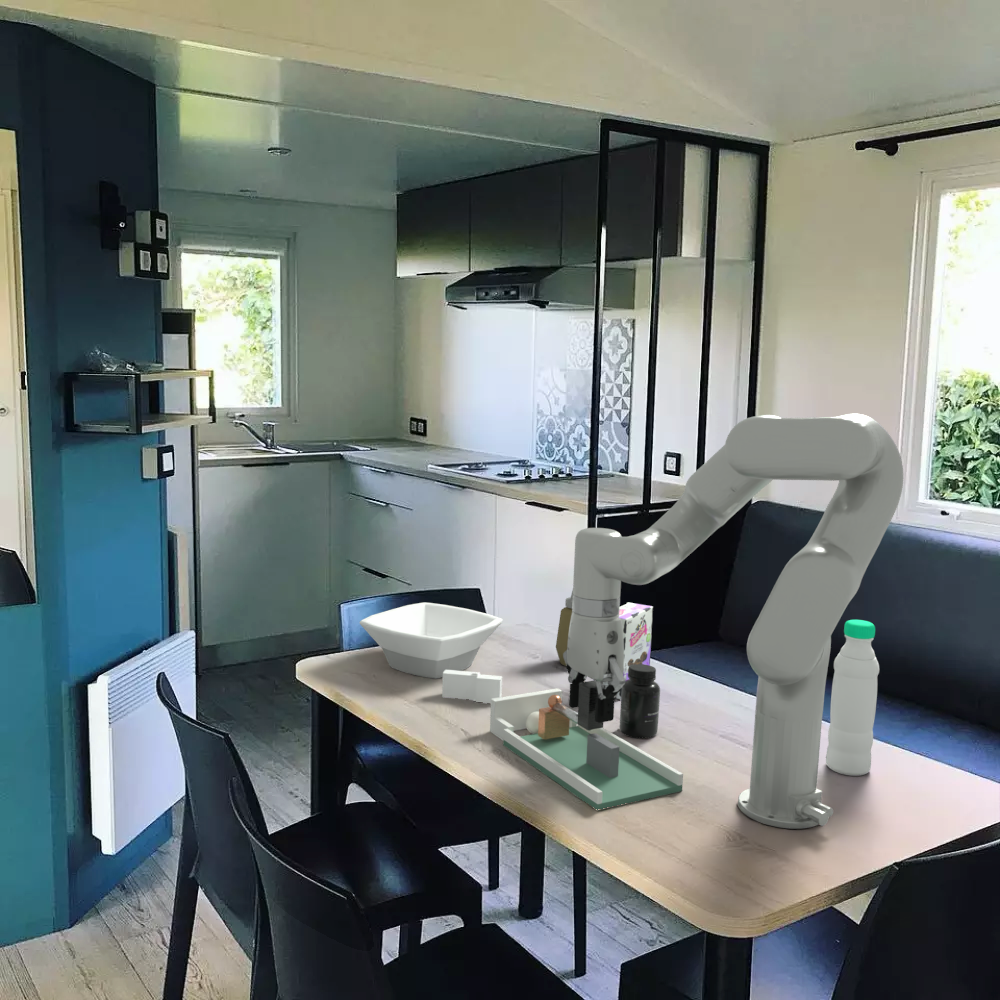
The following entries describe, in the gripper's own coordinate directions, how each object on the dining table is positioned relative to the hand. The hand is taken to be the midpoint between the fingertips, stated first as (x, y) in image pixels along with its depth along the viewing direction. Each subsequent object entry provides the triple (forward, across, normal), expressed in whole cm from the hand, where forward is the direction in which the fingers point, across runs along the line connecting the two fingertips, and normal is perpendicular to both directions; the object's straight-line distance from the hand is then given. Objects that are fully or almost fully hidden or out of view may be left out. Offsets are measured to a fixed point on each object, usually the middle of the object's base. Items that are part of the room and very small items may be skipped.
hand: (590, 712), depth 166 cm
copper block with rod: (+8, +5, 0) cm, 9 cm away
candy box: (+9, +30, -29) cm, 43 cm away
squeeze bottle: (+9, +48, -29) cm, 57 cm away
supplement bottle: (+9, +9, -17) cm, 21 cm away
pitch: (+9, +3, 0) cm, 10 cm away
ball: (+7, +16, 0) cm, 18 cm away
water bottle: (+9, -19, -39) cm, 44 cm away
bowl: (+9, +59, 0) cm, 60 cm away
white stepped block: (+10, +36, +2) cm, 38 cm away
